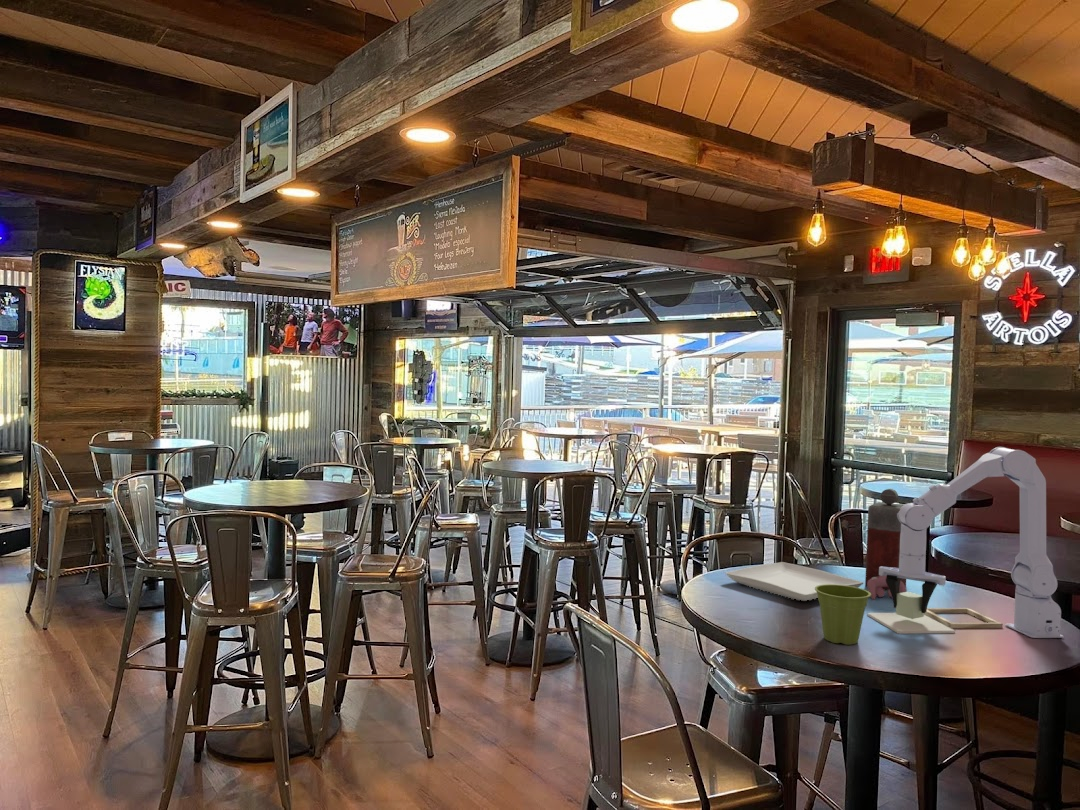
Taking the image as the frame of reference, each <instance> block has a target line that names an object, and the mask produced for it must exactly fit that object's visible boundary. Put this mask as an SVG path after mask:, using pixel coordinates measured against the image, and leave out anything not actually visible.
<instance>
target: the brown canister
mask: <svg viewBox="0 0 1080 810" xmlns="http://www.w3.org/2000/svg"><path fill="white" fill-rule="evenodd" d="M880 499H881V501H882V502H879V501H878V502H876V503H873V504H870V505H868V511H867V533H866V535H867V536H866V552H865V553H866V557H865V578H864V579H865V582H864V584H865V585H864V586H865V587H867V582H868V580H870V579H871V578H873V577H877V576H880V575H879V567H881V566H883V567H892V568H899V555H900V533H901V522H900V521H899V520H898V517H897V513H899V511H900V508H901V507H902V506H903V505H904V504H899V503H896V502H897V501H898V499H899V493H898V492H897V490H896V489H893V488H886V489H884V490H882V491H881V493H880ZM901 581H902V582H903V583H904V585H905V588H906V587H907V579H903V578H901ZM867 588H868V587H867ZM881 588H882V589H883V590H884V591H888V590H889V588H888V587H881Z"/></svg>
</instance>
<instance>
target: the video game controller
mask: <svg viewBox="0 0 1080 810" xmlns="http://www.w3.org/2000/svg"><path fill="white" fill-rule="evenodd" d="M886 577H887V576H877V577H873V578H871V579H870V580H868V582H867V591H868V592H870V593H871V596H870V597H869V598H871V599H872V600H873V601H875V600H876V597H878V598H882V597H884V596H885V595H886V593H887V597H889V598H890V599H892V595H891V592H890V589H889V590H887V592H885V591H886V590H883V589H882V588H881V587H888V585H887V583H886ZM888 588H889V587H888ZM903 592H908V591H907V588H906V587H905V585H904V583H903V582H902V581H901V580H900V588H899V593H903Z"/></svg>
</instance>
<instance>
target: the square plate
mask: <svg viewBox="0 0 1080 810" xmlns="http://www.w3.org/2000/svg"><path fill="white" fill-rule="evenodd" d="M725 575H727V577H728V578H729V579H731V580H732V581H734V582H736V583H738V584H741V585H744V586H746V587H748V586H749V588H751V587H753V588H752V589H754V588H756V589H755V590H758V589H760V590H759V591H761V590H763V591H762V592H765V591H767V592H766V593H768V592H770V593H769V594H772V593H774V594H773V595H775V594H778V595H777V596H779V595H781V596H780V597H782V596H785V597H784V598H786V597H788V598H787V599H789V598H791V599H790V600H794V599H796V600H795V601H800V600H801V601H802V602H807V600H809V601H813V600H812V599H814V600H817V599H816V598H818V595H817V591H816V590H815V587H816V586H819V585H829V584H834V585H845V586H852V587H856V588H860V587H861V586H862V585H863V584H864V582H863V581H861V580H858V579H857V580H856V579H853V578H849V577H845V576H841V575H839V574H835V573H832V572H828V571H825V570H821V569H817V568H812V567H808V566H803V565H800V564H799V565H797V564H793V563H788V562H784V561H780V562H779V561H778V562H773V563H764V564H759V565H754V566H749V567H744V568H739V569H734V570H731V571H726V572H725ZM801 601H800V602H801Z"/></svg>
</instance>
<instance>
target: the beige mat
mask: <svg viewBox="0 0 1080 810" xmlns="http://www.w3.org/2000/svg"><path fill="white" fill-rule="evenodd" d="M866 615H867V617H870V618H871V619H873V620H874V621H876V622H878V624H881V625H883V626H885V627H886V628H888V629H889V630H891V631H893V632H895V633H897V634H901V635H902V634H956V630H955V629H954V628H950V627H948V626H946V625H944V624H942V623H940V622H938V621H937V620H935V619H933V618H931V617H929V616H927V615H925V614H924V617H920V618H915V619H911V618H907V617H904V616H901V615H898V614H896V612H867V613H866Z"/></svg>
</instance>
